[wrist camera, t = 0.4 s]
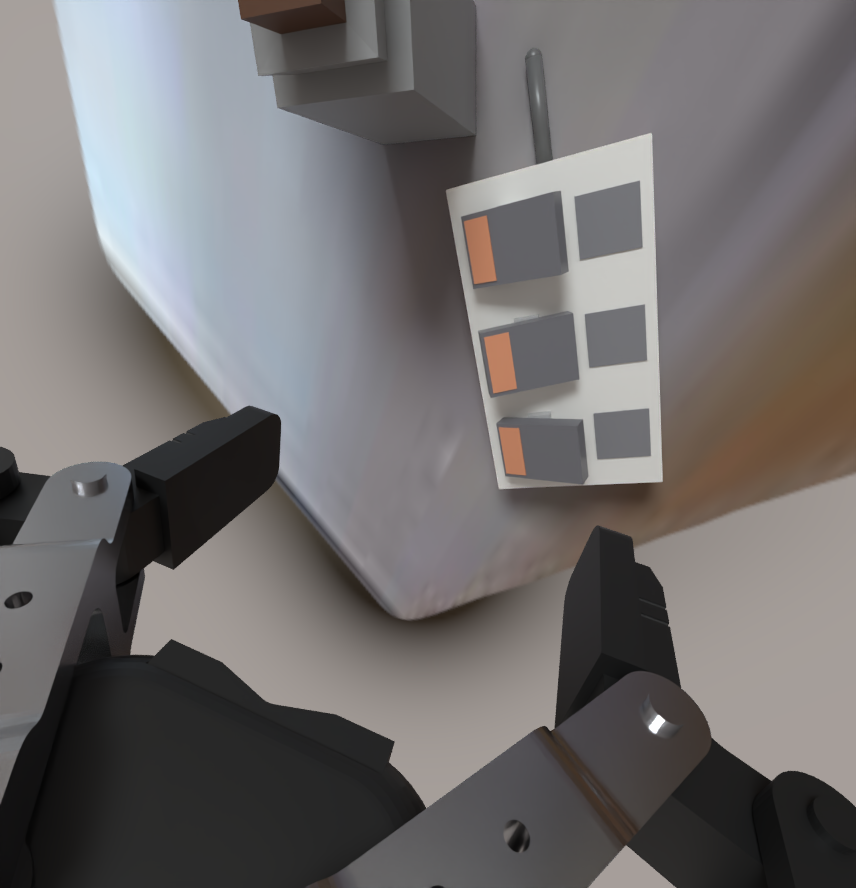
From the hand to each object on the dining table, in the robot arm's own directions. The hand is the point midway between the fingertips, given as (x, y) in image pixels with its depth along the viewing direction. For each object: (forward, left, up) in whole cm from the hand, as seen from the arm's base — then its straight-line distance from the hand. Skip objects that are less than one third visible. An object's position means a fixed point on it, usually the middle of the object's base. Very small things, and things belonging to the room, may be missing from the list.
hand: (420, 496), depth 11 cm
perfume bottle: (+5, -16, -28) cm, 32 cm away
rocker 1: (0, -5, -22) cm, 23 cm away
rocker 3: (0, +9, -22) cm, 24 cm away
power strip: (-2, -1, -28) cm, 28 cm away
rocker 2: (0, +2, -22) cm, 22 cm away
